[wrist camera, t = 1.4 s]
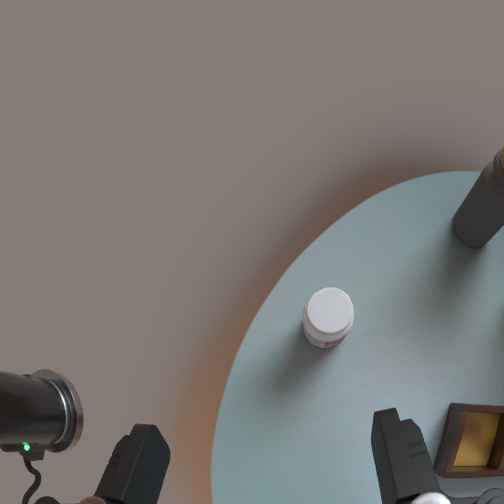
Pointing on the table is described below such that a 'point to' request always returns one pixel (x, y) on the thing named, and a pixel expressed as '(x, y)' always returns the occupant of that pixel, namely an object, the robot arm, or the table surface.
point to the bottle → (483, 206)
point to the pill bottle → (328, 317)
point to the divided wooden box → (472, 442)
